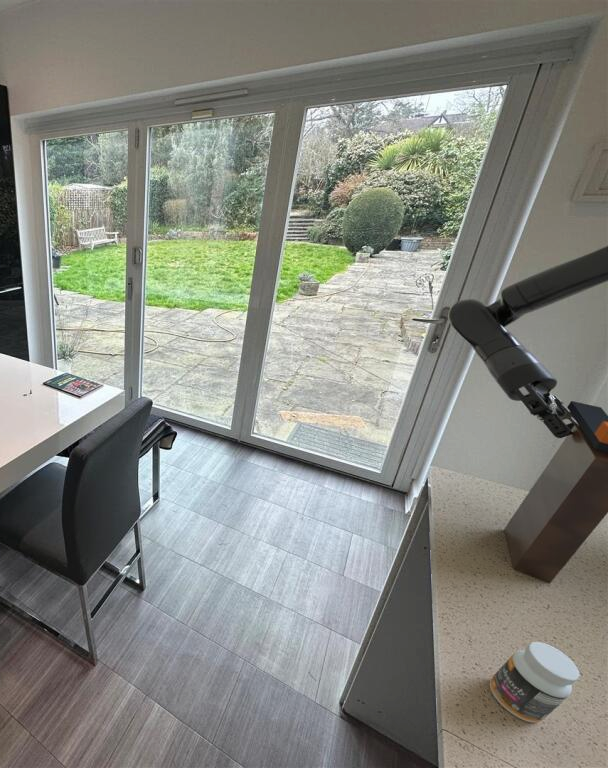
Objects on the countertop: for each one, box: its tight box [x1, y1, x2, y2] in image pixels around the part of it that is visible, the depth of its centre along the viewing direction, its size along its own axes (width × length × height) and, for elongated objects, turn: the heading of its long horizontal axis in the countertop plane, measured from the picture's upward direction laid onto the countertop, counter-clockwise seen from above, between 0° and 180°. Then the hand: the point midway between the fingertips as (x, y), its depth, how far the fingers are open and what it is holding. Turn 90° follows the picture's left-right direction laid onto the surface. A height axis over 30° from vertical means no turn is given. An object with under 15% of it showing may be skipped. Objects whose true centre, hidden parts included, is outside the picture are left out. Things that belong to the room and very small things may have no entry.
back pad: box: [566, 400, 608, 453], centre depth 70 cm, size 4×17×4 cm, turn 144°
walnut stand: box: [503, 425, 608, 584], centre depth 73 cm, size 5×12×26 cm, turn 145°
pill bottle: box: [489, 641, 580, 723], centre depth 54 cm, size 6×6×10 cm
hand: (575, 441), depth 75 cm, fingers open, 8 cm apart
